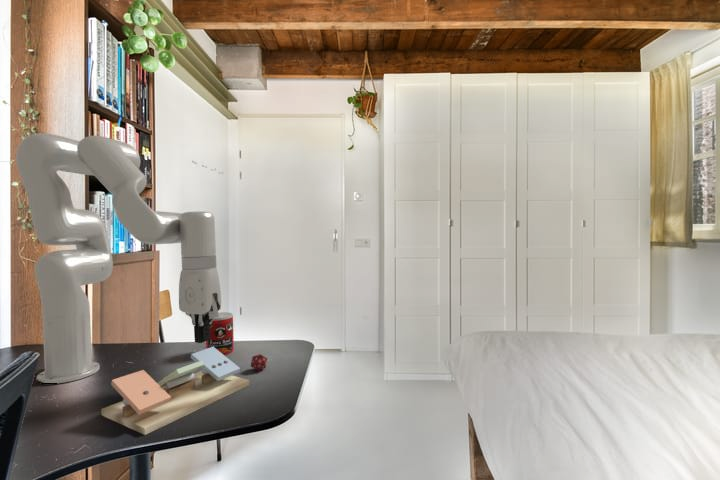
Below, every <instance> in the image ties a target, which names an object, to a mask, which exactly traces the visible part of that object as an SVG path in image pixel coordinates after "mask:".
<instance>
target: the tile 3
mask: <svg viewBox="0 0 720 480" xmlns="http://www.w3.org/2000/svg"><path fill="white" fill-rule="evenodd" d="M190 359H191V360H193V361H194V363H196V362H199V361H201V360H203V362H204V365H203V366H201V367H200V368H202V369H201V371H202V373H203V374H204V375H205V374H207V373H209V374H210V375H211V376H212V377H213V378H215V379H216V380H217V381H219V380H222V379H224V378H226V377H229V376H231V375H232V376H234V375H236V374H238V373H240V371H241V367H239V366H238V365H237V364H236V363H235V362H233V361H232V360H231V359H229V358H228V357H227V356H226V355H223V354H222V353H221V352H219V351H218V350H217V349H216V348H214V347H211V348H208V349H206V348H205V349H201V350H199V351H195V352H192V353H190Z"/></svg>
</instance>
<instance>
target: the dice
mask: <svg viewBox="0 0 720 480" xmlns="http://www.w3.org/2000/svg"><path fill="white" fill-rule="evenodd" d="M267 361H268V357H266V356H264V355H262V354H261V353H259V354H257V355H253V356H252V357H251V362H250V367H251V368H253V369H254V370H256V371H262V370H263V369H266V367H267V363H268V362H267Z"/></svg>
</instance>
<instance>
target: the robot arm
mask: <svg viewBox="0 0 720 480" xmlns="http://www.w3.org/2000/svg"><path fill="white" fill-rule="evenodd" d="M15 154H16V155H15V163H16V168H17V172H18V175H19V178H20V180H21V182H22V184H23V186H24V189H25V193H26V197H27V203H28V206H29V211H30V217H31V221H32V226H33V230H34V234H35V237H36V238H37V240H38V242H39V243H42V244H44V245H46V246H75V249H74V248H73V249H63V250H60V249H59V250H55V251H54V250H53V251H49V252H47V253H45V254H43V255H42V256H40V257H39V258H38V259H37V261H36V262H35V264H34V269H33V271H34V273H33V274H34V277H35V280H36V284H37V287H38V290H39V296H40V304H41V317H42V336H43V337H42V339H43V341H42V342H43V361H44V370H43V371H42V372H40V373H39V374H37V375H36V381H37V380H39V381H41V382H44V383H57V384H63V383H69V382H73V381H77V380H81V379H84V378H87V377H89V376H92V375H94V374H96V373H98V372H99V370H100V364H99V362H96V361H93V356H92V355H93V353H92V350H93V349H92V330H91V329H92V327H91V326H92V325H91V308H90V301H89V298H88V296H87V294H86V292H84V289H83V288H82V286H86V285H92V284H97V283H101V282H104V281H106V280H107V279H108V278H109V277H110V276H111V275H112V272H113V268H114V261H113V254H112V251H111V245H110V239H109V235H108V231H107V227H106V223H105V222H104V220H103V218H102V217H101V215H99V214H98V213H96V212H94V210H93V211H92V210H89V209H82V208H80V209H79V208H78V209H77V208H75V207H74V204H73V201H72V196H71V192H70V189H69V187H68V185H67V184H66V183H65V181H64V180H63V179H62V178H61V176H59V174H58V171H60V172H66V173H73V174H77V175H78V174H79V175H83V176H84V175H86V176H94V177H95V178H96V179H97V180H98V181H99V183H101V184H102V185H103V186H104V187H105V189H106V190H107V191H108V192H109V193H110V194H111V196H112V198H111V199H112V201H111V203H112V209H113V212H114V215H115V217H116V219H117V221H118V222H119V223H120V224H121V225H122V227H124V228H125V230H126V231H127V232H129V234H130V235H131V236H132V237H134V239H136V240H137V241H139V242H141V243H143V244H146V245H164V244H169V245H171V244H180V252H181V254H180V255H181V270H180V274H179V281H178V309H179V311H181V312H182V313H184V314H185V315H186V316H188V317H189V318H190V319H191V325H192V326H193V332H194V336H193V337H194V342H195V343H197V344H202V343H206V341H209V340H210V339H211V335H210V324H211V323H212V319H213V318H217V317H219V314H218V313H219V311H220V310H221V308H222V293H221V283H220V277H219V272H218V269H217V268H218V267H217V250H216V249H217V247H216V246H217V244H216V225H215V224H216V223H215V216H214V214H213V213H211V212H209V211H186V212H183V213H182V212H181V213H180V212H172V211H171V212H170V211H160V210H157V211H156V210H153V209H152V208H151V207H150V206H149V205H148V204H147V202H145V201H144V199H143V198H142V197H141V196H140V194H141V193H142V192H143V191H144V190H145V188H146V186H147V182H148V180H147V176H146V175H145V174H144V173H143V172H142V171H141V170H140V169H139V168H140V166H141V157H140V154H139V152H138V150H137V149H136V148H135V147H134V146H132V145H131V144H129V143H126V142H124V141H122V140H121V141H119V140H117V139H113V138H109V137H106V136H104V135H103V136H102V135H89V136H86V137H83V138H82V139H80V141H79V140H76V139H73V138H70V137H64V136H60V135H57V134H53V133H52V134H51V133H39V132H37V133H33V134H30V135H27V136H26V137H24V139H22V141H21V142H20V143H19V145H18V147H17V151H16V153H15Z"/></svg>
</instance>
